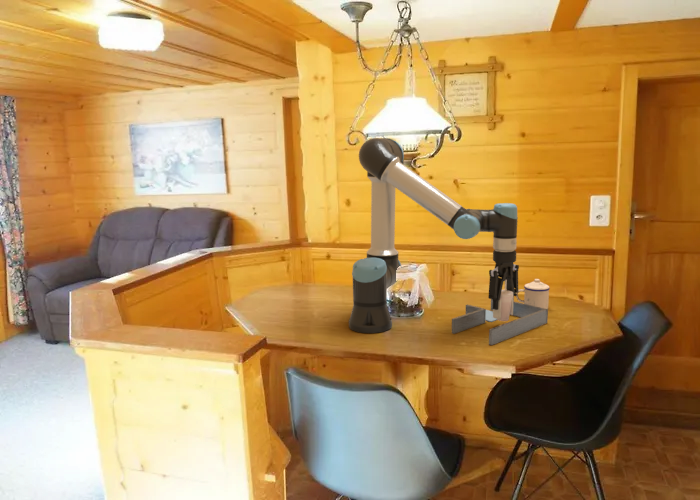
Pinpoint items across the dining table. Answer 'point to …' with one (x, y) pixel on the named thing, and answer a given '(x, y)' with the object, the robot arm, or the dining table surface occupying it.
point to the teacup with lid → (535, 294)
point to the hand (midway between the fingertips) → (503, 316)
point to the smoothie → (505, 303)
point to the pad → (490, 316)
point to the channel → (528, 321)
